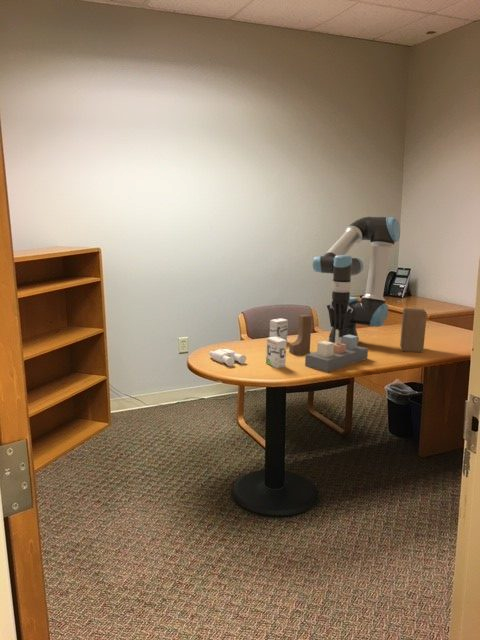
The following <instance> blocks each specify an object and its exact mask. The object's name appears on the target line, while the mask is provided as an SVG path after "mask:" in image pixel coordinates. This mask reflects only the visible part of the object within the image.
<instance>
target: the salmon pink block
mask: <svg viewBox="0 0 480 640" xmlns="http://www.w3.org/2000/svg"><path fill="white" fill-rule="evenodd" d="M344 352H346V344H335V343H334V353H337V354H340V353H344Z"/></svg>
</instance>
